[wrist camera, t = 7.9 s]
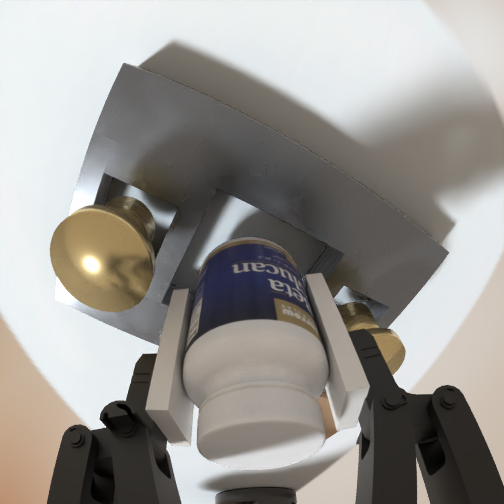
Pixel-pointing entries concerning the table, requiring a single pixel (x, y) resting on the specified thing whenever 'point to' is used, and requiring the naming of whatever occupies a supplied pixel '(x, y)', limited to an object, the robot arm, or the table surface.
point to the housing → (242, 196)
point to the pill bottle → (254, 359)
